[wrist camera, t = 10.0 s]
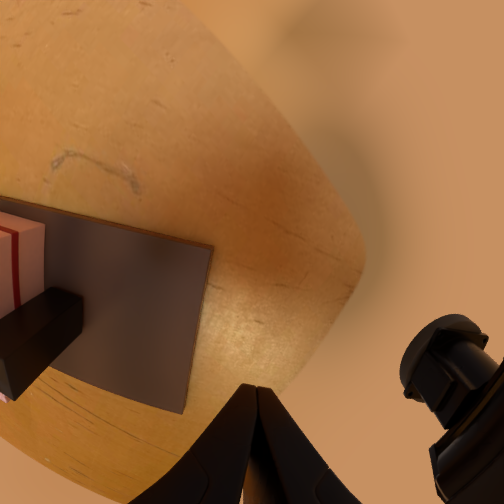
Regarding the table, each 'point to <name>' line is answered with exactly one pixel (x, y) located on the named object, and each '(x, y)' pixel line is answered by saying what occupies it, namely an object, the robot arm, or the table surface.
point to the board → (125, 302)
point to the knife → (36, 337)
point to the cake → (20, 263)
